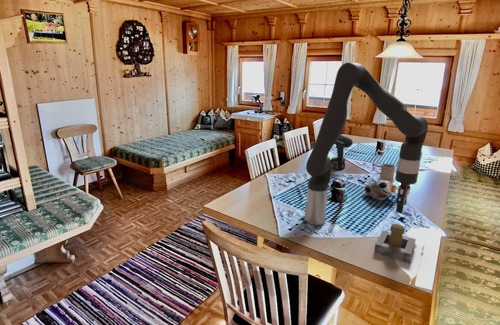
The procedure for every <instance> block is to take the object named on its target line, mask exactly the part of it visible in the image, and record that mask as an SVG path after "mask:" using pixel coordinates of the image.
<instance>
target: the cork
mask: <svg viewBox="0 0 500 325" xmlns="http://www.w3.org/2000/svg"><path fill="white" fill-rule="evenodd" d="M389 232H391V235H390V238H389V241H388V245H392V246H396V247H399V248H402V236H403V235H404V233H405V227H404V226H403V225H402V224H399V223H393V224H392V225H390V231H389Z"/></svg>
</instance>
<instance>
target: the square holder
mask: <svg viewBox="0 0 500 325" xmlns="http://www.w3.org/2000/svg"><path fill="white" fill-rule="evenodd" d="M390 235H391V231H386V230H383V229H382V231H381V232H380V234H379V236H378V239H377V241H376V242H375V244H374V245H375V246H374V251H373V252H374V253H375V254H377V255H381V256H384V257H388V258H391V259H394V260H397V261H401V262H404V263H408V264H410V263H411V259H412V256H413V253H414V250H415V245H416V239H417V238H412V237H411V236H410V237H409V236H405V235H402V248H399V247H396V246H392V245H388V241H389V238H390Z"/></svg>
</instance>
